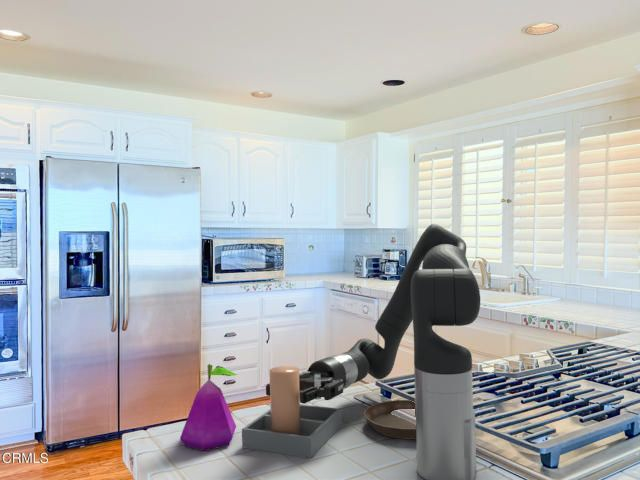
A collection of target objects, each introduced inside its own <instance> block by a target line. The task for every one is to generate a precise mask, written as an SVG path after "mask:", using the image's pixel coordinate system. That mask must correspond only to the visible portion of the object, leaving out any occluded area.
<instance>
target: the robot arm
mask: <svg viewBox="0 0 640 480" xmlns="http://www.w3.org/2000/svg"><path fill="white" fill-rule="evenodd" d="M466 252H467V243H466V242H465V240H464V239H462V238H461V237H460V236H459V235H456V234H455V233H453V232H451V231H449V230H448V229H446V228H444V227H442V226H441V225H439V224H436V223H432V224H430V225H428V226H427V228H426V229H425V230H424V231H423V233H421V235H420V237H419V239H418V241H417V243H416V244H415V246H414V248H413V251H412V252H411V255H410V257H409V259H408V261H407V262H406V265H405V268H404V270H403V272H402V273H401V275H400V278H399V281H398V283H397V286H396V288H395V290H394V292H393V294H392V296H391V298H390V299H389V301H388V303H387V305H386V306H385V308H384V309H383V311H382V312H381V315H380V316H379V318H378V320H377V321H376V323H375V327H374V328H375V331H376V333H378V334H379V335H380V336H381V337H382V338H383V340H384V341H383V342H384V346H383V347H382V346H380V345H379V344H377V343H376V342H375V341H373V340H372V339H369V338H360V339H358V340H357V342H355V344H354V345H353V346H352V347H351V348H350V349H349V350H348V351H345V352H342V353H339V354H334V355H330V356H327V357H323V358H322V359H319V360H316V361H314V362H312V363H311V364H310V366H309V367H308V369H307V371H302V372H299V386H300V404H302V405H306V404H307V403H309V402H311V401H314V400H321V399H322V398H323V399H324V400H325V401H330V400H333V399H334V398H336V397H338V396H339V395H341V394H344V390H346V389H347V388H349V387H351V385H353V384H356V383H357V382H358V383H359V382H360V381H363V379H365V378H366V377H367V376H368V375H369V376H372V378H373V379H376V380H383V379H385V378H387V377H389V375H390V374H391V372H392V371H393V368H394V366H395V363H396V362H395V361H396V358H397V353H398V351H399V347H400V344H401V341H402V339H403V337H404V335H405V333H406V332H407V330H408V328H409V327H410V326H411V323H412V328H413V329H412V330H413V366H414V367H413V368H414V401H415V417H416V439H415V447H416V448H415V449H416V451H415V452H416V453H415V454H416V456H415V459H416V461H415V462H416V471H417V473H418V475H419V476H420V477H421V478H422V479H424V480H475V475H476V471H477V452H476V451H477V446H476V445H477V444H476V412H475V410H474V395H473V394H474V392H473V391H474V390H473V385H474V384H473V358H472V353H471V351H470V350H469V349H468V348H467V347H465V346H462V345H460V344H458V343H455V342H451V341H448V340H447V339H444V338H443V337H442V336H440V335H438V334H437V333H436V332H435V330H434V329H433V327H435V326H436V327H437V326H439V327H440V326H441V327H463V326H469V325H471V324H473V323H474V322H475V321H476V319H477V318H478V316H479V313H480V310H481V309H480V308H481V293H480V287H479V284H478V283H479V282H478V280H477V278H476V276H475V274H474V273H473V271H472V270H471V269H470V265H469V262H468V259H467V257H466V256H467V253H466ZM421 265H422V266H421ZM420 267H421V269H420ZM265 394H266V396H268V397H270V382H269V383H267V384H266V385H265Z"/></svg>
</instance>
